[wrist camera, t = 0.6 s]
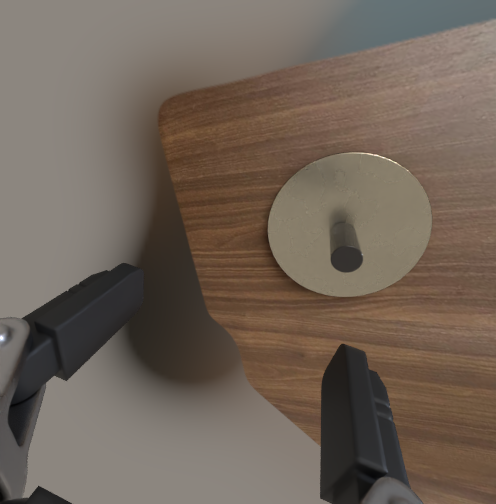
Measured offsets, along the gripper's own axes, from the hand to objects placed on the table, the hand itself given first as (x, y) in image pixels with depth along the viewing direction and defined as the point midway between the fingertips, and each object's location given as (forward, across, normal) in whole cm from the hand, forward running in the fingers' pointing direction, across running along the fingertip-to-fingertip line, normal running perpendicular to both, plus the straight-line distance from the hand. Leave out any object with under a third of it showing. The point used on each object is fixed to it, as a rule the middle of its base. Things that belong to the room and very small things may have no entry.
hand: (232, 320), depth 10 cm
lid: (+18, -6, +1) cm, 19 cm away
